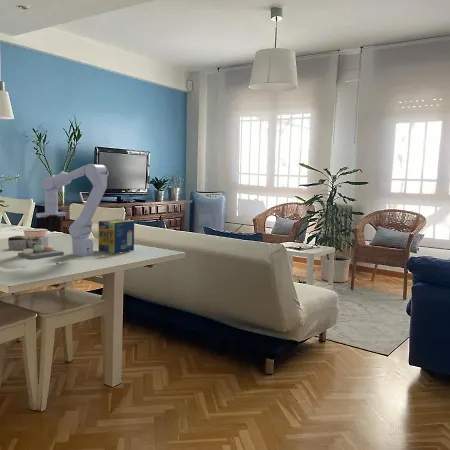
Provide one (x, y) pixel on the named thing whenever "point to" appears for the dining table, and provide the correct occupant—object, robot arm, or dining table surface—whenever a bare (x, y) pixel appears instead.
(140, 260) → the dining table surface
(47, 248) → the terracotta button
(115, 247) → the protein box
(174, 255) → the dining table surface
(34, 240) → the coffee box
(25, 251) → the cream button
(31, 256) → the console
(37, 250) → the sage button
